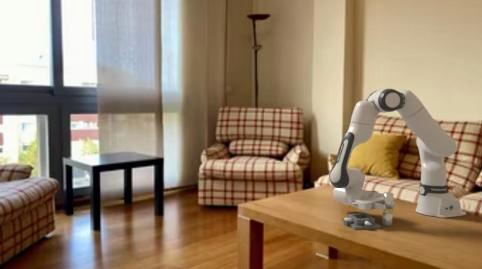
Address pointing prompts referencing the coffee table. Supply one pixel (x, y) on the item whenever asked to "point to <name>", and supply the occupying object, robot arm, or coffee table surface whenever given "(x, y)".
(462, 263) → the coffee table surface
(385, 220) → the coupler
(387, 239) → the coffee table surface
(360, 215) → the shaft housing
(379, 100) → the robot arm
